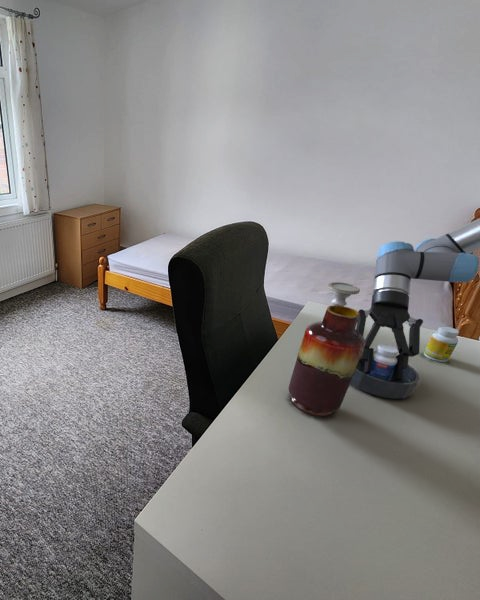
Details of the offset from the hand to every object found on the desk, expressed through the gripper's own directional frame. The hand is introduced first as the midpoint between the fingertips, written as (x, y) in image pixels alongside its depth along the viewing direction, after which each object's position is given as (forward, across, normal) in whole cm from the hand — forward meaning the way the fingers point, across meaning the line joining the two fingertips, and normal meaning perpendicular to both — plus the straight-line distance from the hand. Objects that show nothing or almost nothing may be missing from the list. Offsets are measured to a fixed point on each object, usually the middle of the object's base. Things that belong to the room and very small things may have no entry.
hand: (382, 376), depth 87 cm
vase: (+13, +15, +7) cm, 22 cm away
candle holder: (-10, +10, -16) cm, 22 cm away
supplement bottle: (-15, -18, -21) cm, 31 cm away
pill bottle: (0, 0, -5) cm, 5 cm away
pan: (0, 0, -6) cm, 6 cm away
